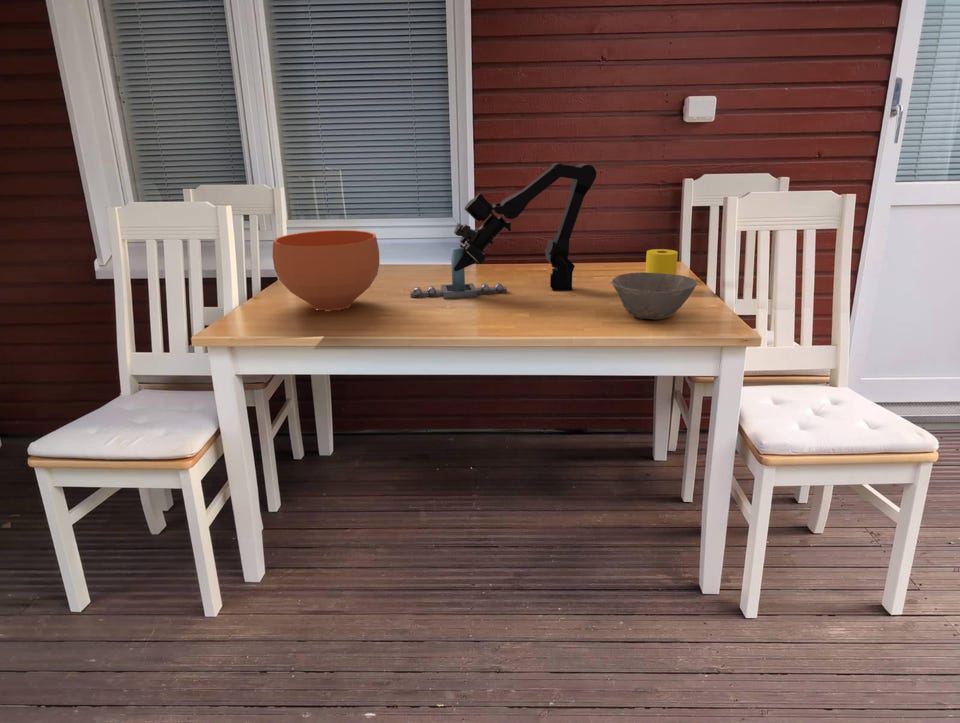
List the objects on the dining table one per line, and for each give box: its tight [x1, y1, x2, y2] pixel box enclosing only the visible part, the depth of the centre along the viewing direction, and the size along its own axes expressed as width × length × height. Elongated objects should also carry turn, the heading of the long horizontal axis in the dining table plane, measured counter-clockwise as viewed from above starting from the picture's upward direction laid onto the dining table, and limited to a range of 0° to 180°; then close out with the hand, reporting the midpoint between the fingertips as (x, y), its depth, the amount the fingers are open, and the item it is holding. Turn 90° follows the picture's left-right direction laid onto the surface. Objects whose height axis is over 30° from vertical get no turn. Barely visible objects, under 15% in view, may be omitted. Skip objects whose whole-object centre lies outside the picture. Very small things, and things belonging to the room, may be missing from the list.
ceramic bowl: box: [611, 272, 698, 320], centre depth 178 cm, size 22×23×10 cm
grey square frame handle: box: [409, 282, 508, 300], centre depth 207 cm, size 30×10×3 cm, turn 97°
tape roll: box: [644, 248, 679, 275], centre depth 219 cm, size 10×10×9 cm
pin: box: [450, 246, 466, 291], centre depth 205 cm, size 4×4×13 cm
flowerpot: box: [272, 229, 380, 311], centre depth 192 cm, size 30×30×20 cm
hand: (453, 269), depth 204 cm, fingers closed on pin, 4 cm apart
